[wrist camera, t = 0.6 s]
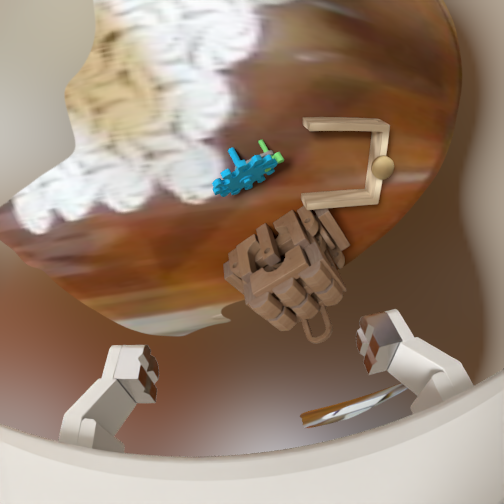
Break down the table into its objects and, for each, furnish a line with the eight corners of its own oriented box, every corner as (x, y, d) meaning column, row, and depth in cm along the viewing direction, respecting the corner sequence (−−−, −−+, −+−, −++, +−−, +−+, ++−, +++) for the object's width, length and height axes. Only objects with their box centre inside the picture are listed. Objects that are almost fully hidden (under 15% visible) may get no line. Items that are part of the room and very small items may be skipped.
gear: (222, 206, 46) (208, 187, 36) (208, 175, 46) (191, 150, 36) (285, 176, 45) (287, 150, 35) (268, 146, 46) (266, 116, 36)
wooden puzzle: (314, 189, 48) (359, 261, 33) (348, 241, 56) (387, 312, 42) (214, 256, 54) (219, 340, 40) (259, 294, 63) (274, 370, 48)
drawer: (302, 117, 39) (311, 124, 36) (386, 119, 40) (399, 127, 37) (301, 199, 48) (308, 212, 45) (375, 193, 49) (386, 205, 46)
